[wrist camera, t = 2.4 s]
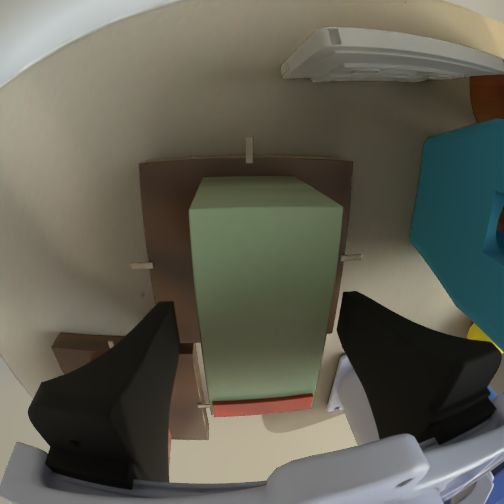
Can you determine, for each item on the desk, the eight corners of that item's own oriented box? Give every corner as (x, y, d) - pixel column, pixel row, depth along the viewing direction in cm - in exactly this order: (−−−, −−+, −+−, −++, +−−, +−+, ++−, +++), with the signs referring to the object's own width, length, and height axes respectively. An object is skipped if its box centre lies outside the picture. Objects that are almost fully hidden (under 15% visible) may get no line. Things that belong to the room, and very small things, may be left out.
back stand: (46, 321, 20) (35, 336, 18) (207, 324, 21) (206, 343, 19) (95, 422, 26) (91, 436, 24) (220, 429, 27) (221, 446, 25)
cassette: (432, 63, 15) (507, 52, 8) (436, 86, 16) (513, 82, 9) (277, 59, 15) (314, 15, 8) (282, 87, 16) (324, 58, 9)
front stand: (129, 144, 16) (117, 145, 14) (356, 142, 17) (372, 144, 15) (155, 337, 21) (150, 356, 19) (335, 328, 23) (344, 344, 21)
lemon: (449, 349, 26) (475, 379, 21) (464, 309, 24) (495, 338, 19) (486, 335, 27) (510, 360, 22) (500, 298, 25) (528, 321, 20)
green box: (202, 177, 15) (187, 211, 9) (294, 176, 16) (347, 208, 9) (211, 331, 19) (211, 419, 13) (286, 327, 20) (313, 410, 13)
